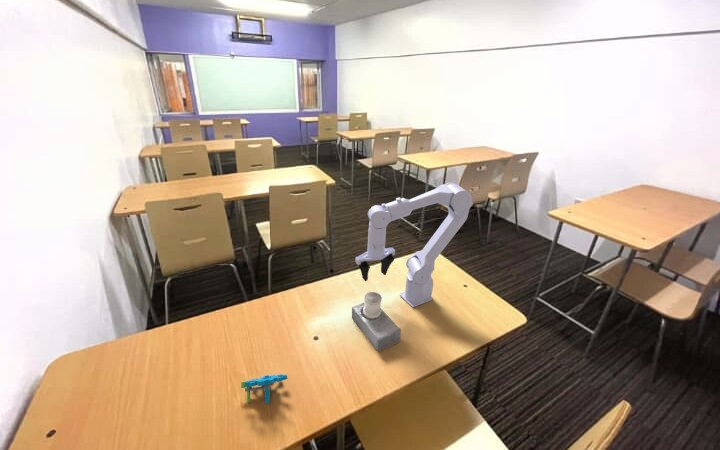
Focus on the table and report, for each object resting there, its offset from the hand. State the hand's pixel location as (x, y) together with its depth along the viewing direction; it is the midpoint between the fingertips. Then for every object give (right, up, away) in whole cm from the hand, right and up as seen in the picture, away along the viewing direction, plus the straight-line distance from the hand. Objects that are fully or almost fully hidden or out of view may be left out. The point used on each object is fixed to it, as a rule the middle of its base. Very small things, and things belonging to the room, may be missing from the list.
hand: (374, 276), depth 104 cm
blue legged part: (-29, -24, -28) cm, 47 cm away
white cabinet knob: (-1, -10, -8) cm, 13 cm away
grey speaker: (0, -15, -8) cm, 17 cm away
